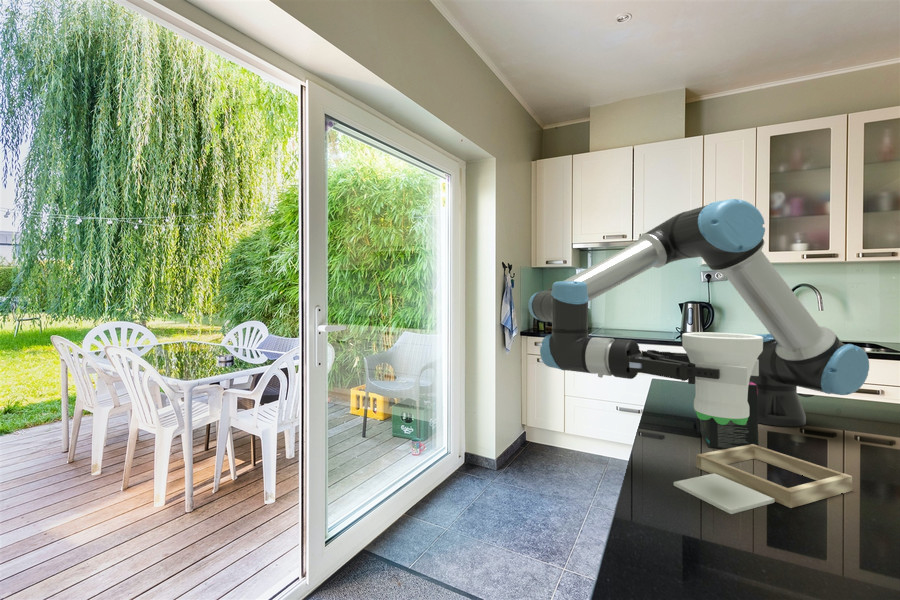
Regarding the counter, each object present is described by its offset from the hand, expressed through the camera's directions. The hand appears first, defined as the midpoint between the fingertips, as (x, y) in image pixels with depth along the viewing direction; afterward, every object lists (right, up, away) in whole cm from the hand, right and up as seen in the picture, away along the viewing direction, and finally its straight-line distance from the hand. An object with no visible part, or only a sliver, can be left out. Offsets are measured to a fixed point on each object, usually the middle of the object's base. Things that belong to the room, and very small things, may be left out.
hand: (752, 371), depth 64 cm
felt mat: (-3, -21, +3) cm, 21 cm away
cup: (-3, -9, +3) cm, 10 cm away
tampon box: (+14, -21, +26) cm, 37 cm away
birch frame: (+9, -21, +9) cm, 24 cm away
